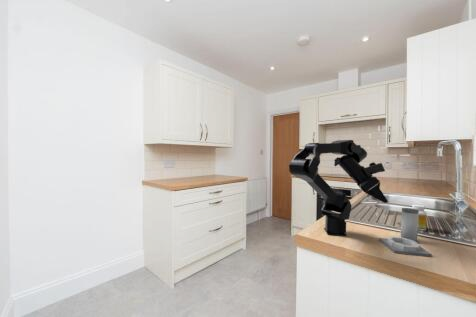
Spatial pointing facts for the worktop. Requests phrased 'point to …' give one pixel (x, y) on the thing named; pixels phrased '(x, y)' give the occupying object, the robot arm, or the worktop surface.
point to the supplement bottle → (421, 216)
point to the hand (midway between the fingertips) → (384, 200)
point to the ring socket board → (404, 246)
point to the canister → (409, 224)
